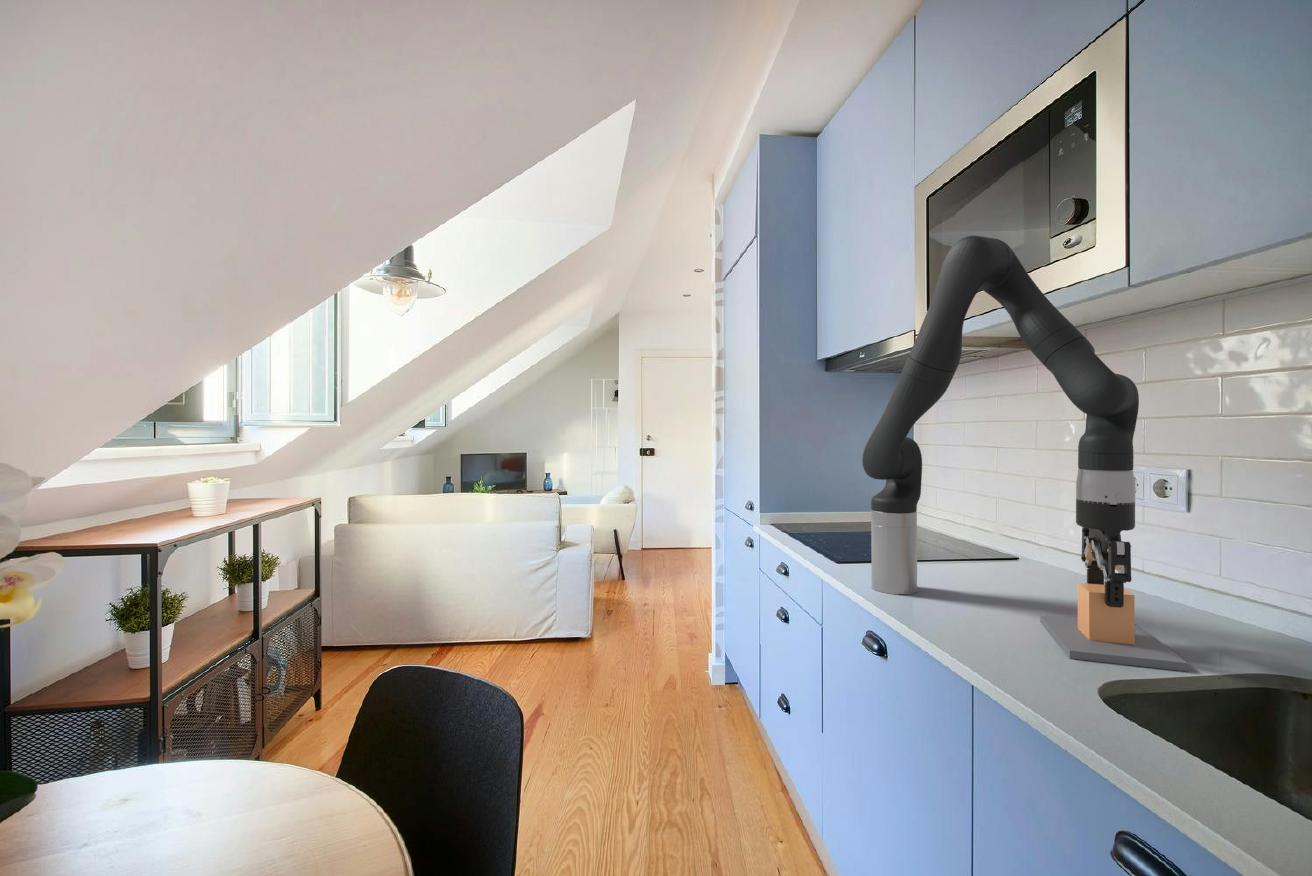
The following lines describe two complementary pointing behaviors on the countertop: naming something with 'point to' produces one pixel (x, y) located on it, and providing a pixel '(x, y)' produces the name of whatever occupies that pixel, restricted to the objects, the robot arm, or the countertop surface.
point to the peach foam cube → (1105, 615)
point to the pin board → (1112, 646)
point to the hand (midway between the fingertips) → (1104, 598)
